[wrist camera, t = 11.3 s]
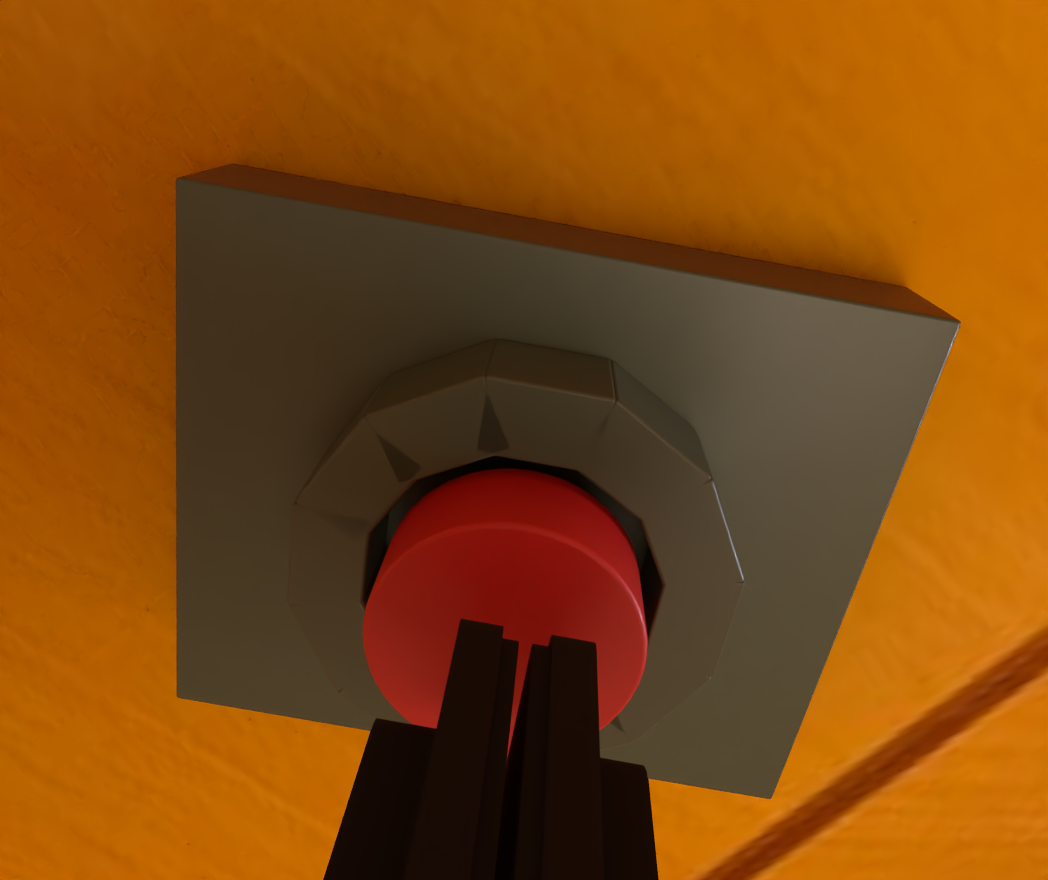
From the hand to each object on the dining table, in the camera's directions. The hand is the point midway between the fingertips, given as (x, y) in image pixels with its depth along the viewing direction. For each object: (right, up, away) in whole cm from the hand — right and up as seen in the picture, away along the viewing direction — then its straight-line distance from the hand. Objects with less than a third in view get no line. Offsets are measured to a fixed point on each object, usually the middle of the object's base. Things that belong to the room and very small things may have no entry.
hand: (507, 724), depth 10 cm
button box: (0, +3, +6) cm, 7 cm away
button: (0, +1, +3) cm, 3 cm away
